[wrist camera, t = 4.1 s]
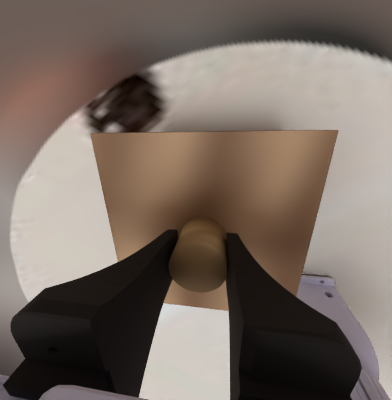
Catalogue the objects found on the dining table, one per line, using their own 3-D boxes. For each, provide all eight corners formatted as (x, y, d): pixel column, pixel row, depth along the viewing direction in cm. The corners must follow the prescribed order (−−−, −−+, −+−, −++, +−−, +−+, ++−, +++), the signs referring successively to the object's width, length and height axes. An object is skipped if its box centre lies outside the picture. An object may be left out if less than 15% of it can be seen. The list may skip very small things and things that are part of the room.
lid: (329, 129, 9) (390, 131, 6) (287, 308, 14) (307, 366, 11) (99, 133, 11) (42, 136, 8) (130, 290, 16) (104, 336, 13)
